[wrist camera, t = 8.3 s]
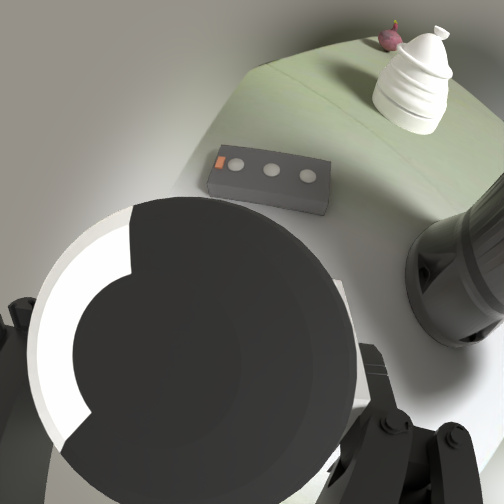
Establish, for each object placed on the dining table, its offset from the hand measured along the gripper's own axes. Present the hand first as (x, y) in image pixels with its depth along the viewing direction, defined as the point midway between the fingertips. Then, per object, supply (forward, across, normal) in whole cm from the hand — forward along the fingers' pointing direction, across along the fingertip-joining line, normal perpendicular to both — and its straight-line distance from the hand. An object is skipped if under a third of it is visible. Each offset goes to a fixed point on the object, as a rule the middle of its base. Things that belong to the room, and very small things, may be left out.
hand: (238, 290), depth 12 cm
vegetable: (+58, +21, +38) cm, 73 cm away
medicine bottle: (0, 0, -5) cm, 5 cm away
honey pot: (+39, +20, +18) cm, 47 cm away
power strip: (+22, -1, +2) cm, 22 cm away
